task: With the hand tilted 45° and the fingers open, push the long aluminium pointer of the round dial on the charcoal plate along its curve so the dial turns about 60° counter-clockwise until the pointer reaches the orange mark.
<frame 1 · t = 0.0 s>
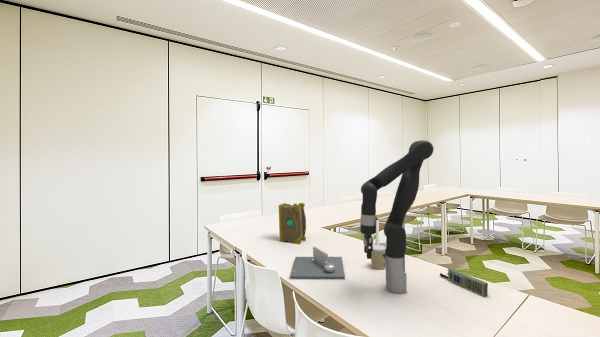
hand: (367, 255, 140), 17 cm above the table, tool pointing down, fingers open, 8 cm apart
dial plate: (329, 273, 161), on the table
decorative book: (293, 241, 225), on the table
coffee cup: (378, 267, 168), on the table
handheld radio: (461, 286, 142), on the table
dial: (322, 258, 168), point 6 cm above the table, hinge at 0.0°
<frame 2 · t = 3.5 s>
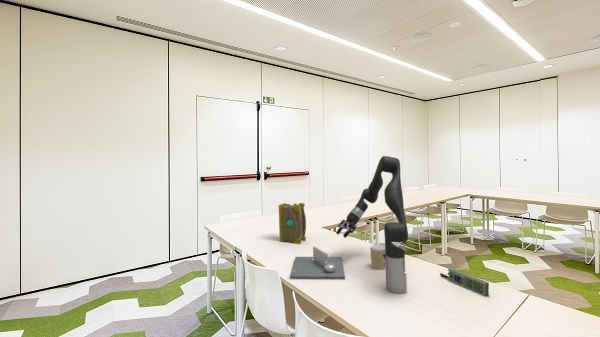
hand: (340, 235, 179), 17 cm above the table, tool tilted 45°, fingers open, 8 cm apart
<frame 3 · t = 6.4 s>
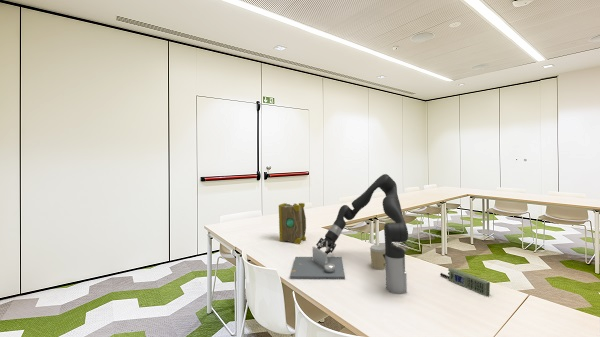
hand: (319, 255, 174), 6 cm above the table, tool tilted 45°, fingers open, 8 cm apart
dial: (322, 258, 168), point 6 cm above the table, hinge at 1.1°, touching gripper
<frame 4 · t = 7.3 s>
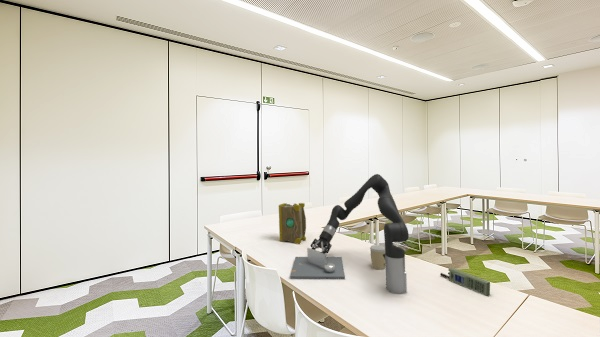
hand: (314, 256, 172), 6 cm above the table, tool tilted 45°
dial: (320, 259, 167), point 6 cm above the table, hinge at 13.3°, touching gripper
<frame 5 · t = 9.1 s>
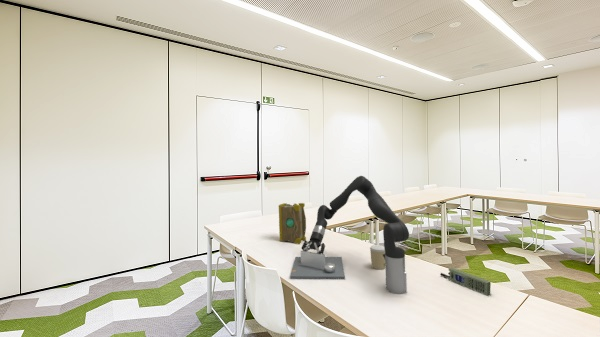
hand: (309, 258, 169), 6 cm above the table, tool tilted 45°
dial: (317, 260, 165), point 6 cm above the table, hinge at 32.8°, touching gripper
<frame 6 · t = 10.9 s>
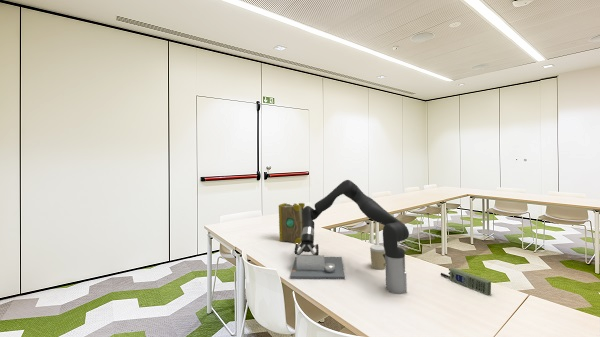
hand: (305, 261, 164), 6 cm above the table, tool tilted 45°
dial: (315, 262, 162), point 6 cm above the table, hinge at 55.1°, touching gripper
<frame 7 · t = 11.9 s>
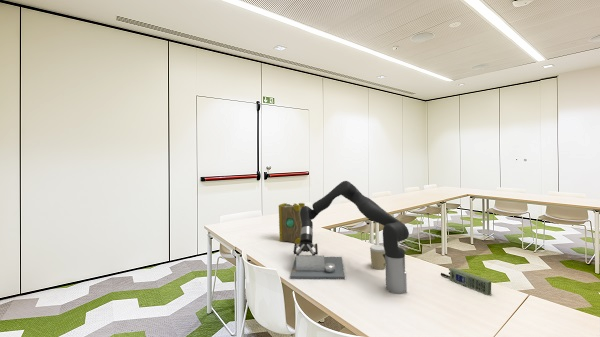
hand: (305, 260, 163), 7 cm above the table, tool tilted 45°, fingers open, 8 cm apart
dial: (315, 263, 161), point 6 cm above the table, hinge at 59.3°
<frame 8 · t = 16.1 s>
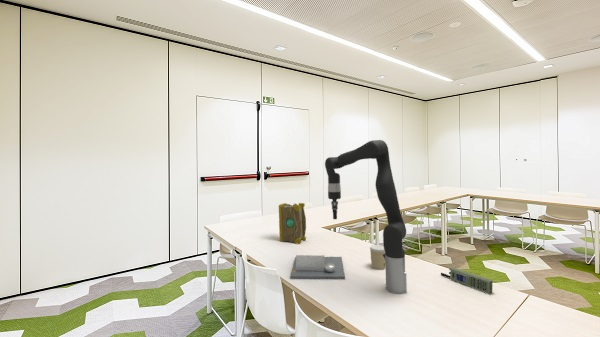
hand: (335, 217, 169), 30 cm above the table, tool pointing down, fingers open, 8 cm apart
at the end: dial at +59° (first picture: +0°); decorative book moved 0.2 cm from its start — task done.
